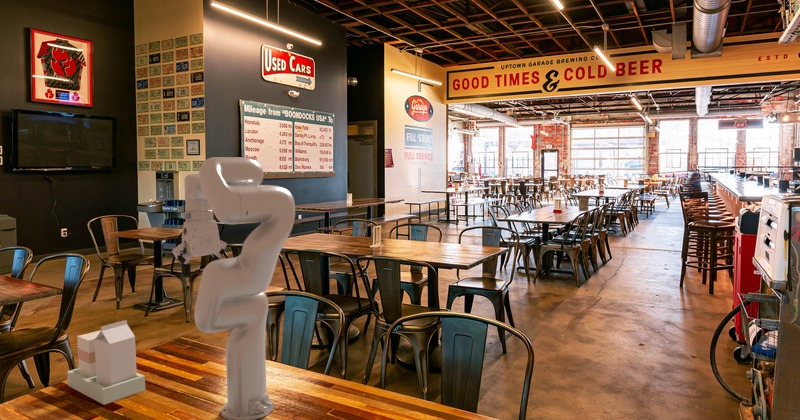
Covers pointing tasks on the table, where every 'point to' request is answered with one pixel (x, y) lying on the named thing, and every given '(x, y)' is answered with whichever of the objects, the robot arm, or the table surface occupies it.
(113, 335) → the milk carton
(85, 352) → the oat carton
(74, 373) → the crate
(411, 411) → the table surface
